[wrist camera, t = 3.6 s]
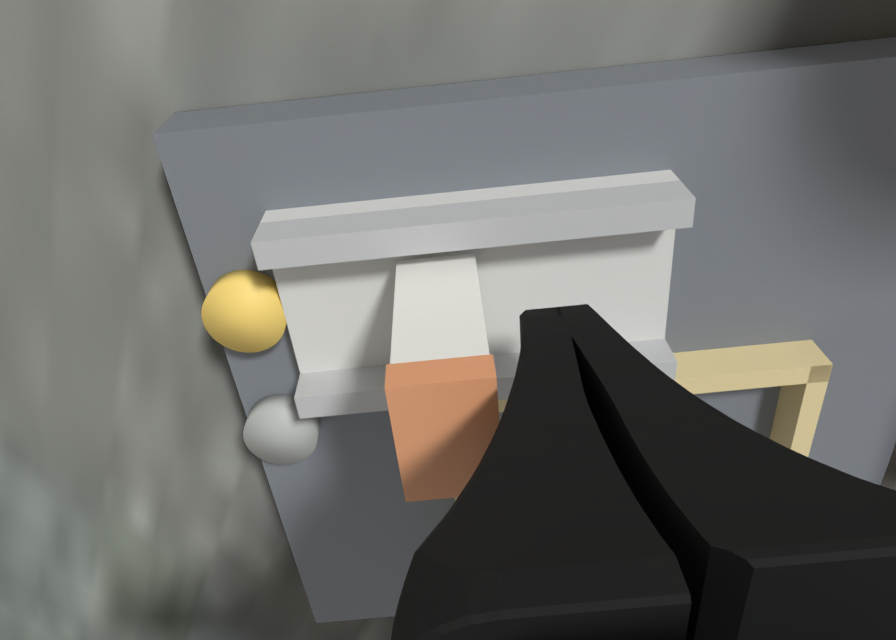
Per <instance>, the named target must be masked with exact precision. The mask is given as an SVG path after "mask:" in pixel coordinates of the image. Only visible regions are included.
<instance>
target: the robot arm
mask: <svg viewBox="0 0 896 640" xmlns="http://www.w3.org/2000/svg"><path fill="white" fill-rule="evenodd" d="M519 320H520V344H521V348H520V355H519V359H518V364H517V369H516V374H515V378H514V381H513V384H512V387H511V391H510V394H509V397H508V400H507V403H506V406H505V409H504V412H503V414H502V417H501V419H500V422H499V424H498V426H497V429H496V431H495V433H494V435H493V438H492V440H491V442H490V444H489V446H488V448H487V450H486V451H485V453H484V455H483V457H482V459H481V461H480V463H479V465H478V467H477V468H476V470H475V472H474V473H473V475H472V477H471V478H470V480H469V481H468V483H467V484H466V486H465V487H464V489H463V490H462V492H461V493H460V495H459V496H458V498H457V499H456V501H455V502H454V504H453V505H452V507H451V508H450V510H449V511H448V512H447V514H446V515H445V516H444V517H443V519H442V520H441V521H440V522H439V524H438V525H437V526H436V527H435V528H434V530H433V531H432V532H431V533H430V534H429V535H428V537H427V538H426V539H425V540H424V541H423V543H422V544H421V545H420V546H419V547H418V549H417V550H416V551H415V553H414V555H413V558H412V561H411V564H410V567H409V570H408V573H407V575H406V578H405V581H404V585H403V588H402V591H401V595H400V598H399V602H398V606H397V610H396V614H395V619H394V624H393V630H392V636H391V640H896V491H895V490H892V489H889V488H886V487H883V486H881V485H878V484H875V483H872V482H869V481H866V480H863V479H860V478H857V477H855V476H852V475H850V474H847V473H845V472H842V471H840V470H837V469H835V468H833V467H830V466H828V465H825V464H823V463H820V462H818V461H816V460H813V459H811V458H809V457H807V456H804V455H802V454H800V453H798V452H796V451H793V450H791V449H789V448H787V447H785V446H783V445H781V444H779V443H777V442H775V441H773V440H771V439H769V438H767V437H765V436H763V435H761V434H759V433H757V432H755V431H753V430H751V429H750V428H748V427H746V426H744V425H742V424H741V423H739V422H737V421H735V420H733V419H732V418H730V417H728V416H727V415H725V414H724V413H722V412H720V411H719V410H717V409H716V408H714V407H712V406H711V405H709V404H707V403H706V402H704V401H703V400H701V399H700V398H698V397H697V396H695V395H694V394H692V393H691V392H689V391H688V390H687V389H685V388H684V387H682V386H681V385H680V384H678V383H677V382H676V381H674V380H673V379H672V378H670V377H669V376H668V375H666V374H665V373H664V372H662V371H661V370H660V369H659V368H657V367H656V366H655V365H654V364H653V363H652V362H650V361H649V360H648V359H647V358H646V357H645V356H643V355H642V354H641V353H640V352H639V351H637V350H636V349H635V348H634V347H633V346H632V345H631V344H630V343H629V342H627V341H626V340H625V339H624V338H623V337H622V336H621V335H620V334H619V333H618V332H617V331H616V330H615V329H614V328H612V327H611V326H610V325H609V324H608V323H607V322H606V321H605V320H604V319H603V318H602V317H601V316H600V315H599V314H598V313H597V312H596V311H595V310H594V309H593V308H591V307H590V306H589V305H588V304H582V305H572V306H562V307H551V308H541V309H531V310H525V311H524V312H523V313H522V314H521V315H520V316H519Z"/></svg>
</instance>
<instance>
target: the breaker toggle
mask: <svg viewBox="0 0 896 640" xmlns="http://www.w3.org/2000/svg"><path fill="white" fill-rule="evenodd" d="M385 394H386V399H387V404H388V410H389V415H390V421H391V426H392V432H393V437H394V442H395V448H396V453H397V459H398V464H399V469H400V475H401V480H402V486H403V491H404V497H405V502H413V501H424V500H434V499H445V498H456V497H458V496H459V495H460V493H461V492H462V490H463V489H464V487H465V486H466V484H467V483H468V481H469V480H470V478H471V477H472V475H473V473H474V472H475V470H476V468H477V467H478V465H479V463H480V461H481V459H482V457H483V455H484V453H485V451H486V450H487V448H488V446H489V444H490V442H491V440H492V438H493V435H494V433H495V431H496V429H497V426H498V424H499V422H500V420H499V406H498V391H497V377H496V370H495V364H494V358H493V354H489V347H488V340H487V333H486V326H485V320H484V313H483V306H482V299H481V293H480V286H479V279H478V272H477V265H476V259H475V253H471V254H461V255H451V256H441V257H431V258H421V259H411V260H401V261H396V277H395V292H394V308H393V324H392V339H391V355H390V364H386V374H385Z"/></svg>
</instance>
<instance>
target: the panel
mask: <svg viewBox="0 0 896 640" xmlns="http://www.w3.org/2000/svg"><path fill="white" fill-rule="evenodd" d="M152 136H153V139H154V142H155V145H156V148H157V151H158V154H159V157H160V160H161V163H162V166H163V169H164V172H165V175H166V178H167V181H168V184H169V187H170V190H171V193H172V196H173V199H174V202H175V205H176V208H177V211H178V214H179V217H180V220H181V223H182V226H183V229H184V232H185V235H186V238H187V241H188V244H189V247H190V250H191V253H192V256H193V259H194V262H195V264H196V267H197V270H198V273H199V276H200V279H201V282H202V285H203V288H204V291H205V294H206V299H205V300H204V303H203V306H202V312H201V315H202V321H203V324H204V326H205V328H206V330H207V332H208V333H209V334H210V335H211V337H212V338H213V339H214V340H216V341H217V342H218V343H220V344H221V345H223V348H224V351H225V354H226V357H227V360H228V363H229V366H230V369H231V372H232V375H233V378H234V381H235V384H236V387H237V390H238V393H239V396H240V399H241V402H242V405H243V407H244V410H245V413H246V416H247V421H246V424H245V427H244V430H243V439H244V442H245V444H246V446H247V448H248V449H249V450H250V451H251V452H252V453H253V454H254V455H255V456H257V457H258V458H260V459H261V461H262V464H263V467H264V470H265V473H266V476H267V479H268V482H269V485H270V488H271V491H272V494H273V497H274V500H275V503H276V506H277V509H278V512H279V515H280V518H281V521H282V524H283V527H284V530H285V533H286V536H287V539H288V542H289V545H290V548H291V550H292V553H293V556H294V559H295V562H296V565H297V568H298V571H299V574H300V577H301V580H302V583H303V586H304V589H305V592H306V595H307V598H308V601H309V604H310V607H311V610H312V613H313V616H314V619H315V622H316V623H325V622H337V621H348V620H359V619H371V618H382V617H393V616H395V614H396V610H397V606H398V602H399V598H400V595H401V591H402V588H403V585H404V581H405V578H406V575H407V573H408V570H409V567H410V564H411V561H412V558H413V555H414V553H415V551H416V550H417V549H418V547H419V546H420V545H421V544H422V543H423V541H424V540H425V539H426V538H427V537H428V535H429V534H430V533H431V532H432V531H433V530H434V528H435V527H436V526H437V525H438V524H439V522H440V521H441V520H442V519H443V517H444V516H445V515H446V514H447V512H448V511H449V510H450V508H451V507H452V505H453V504H454V502H455V501H456V499H457V498H458V497H456V498H445V499H434V500H424V501H413V502H405V497H404V491H403V486H402V480H401V475H400V469H399V464H398V459H397V453H396V448H395V442H394V437H393V432H392V426H391V421H390V415H389V410H388V404H387V399H386V394H385V374H386V364H390V355H391V339H392V324H393V308H394V292H395V277H396V261H401V260H411V259H421V258H431V257H441V256H451V255H461V254H471V253H475V259H476V265H477V272H478V279H479V286H480V293H481V299H482V306H483V313H484V320H485V326H486V333H487V340H488V347H489V354H493V358H494V364H495V370H496V377H497V391H498V406H499V420H500V419H501V417H502V414H503V412H504V409H505V406H506V403H507V400H508V397H509V394H510V391H511V387H512V384H513V381H514V378H515V374H516V369H517V364H518V359H519V355H520V348H521V344H520V320H519V316H520V315H521V314H522V313H523V312H524V311H525V310H531V309H541V308H551V307H562V306H572V305H582V304H588V305H589V306H590V307H591V308H593V309H594V310H595V311H596V312H597V313H598V314H599V315H600V316H601V317H602V318H603V319H604V320H605V321H606V322H607V323H608V324H609V325H610V326H611V327H612V328H614V329H615V330H616V331H617V332H618V333H619V334H620V335H621V336H622V337H623V338H624V339H625V340H626V341H627V342H629V343H630V344H631V345H632V346H633V347H634V348H635V349H636V350H637V351H639V352H640V353H641V354H642V355H643V356H645V357H646V358H647V359H648V360H649V361H650V362H652V363H653V364H654V365H655V366H656V367H657V368H659V369H660V370H661V371H662V372H664V373H665V374H666V375H668V376H669V377H670V378H672V379H673V380H674V381H676V382H677V383H678V384H680V385H681V386H682V387H684V388H685V389H687V390H688V391H689V392H691V393H692V394H694V395H695V396H697V397H698V398H700V399H701V400H703V401H704V402H706V403H707V404H709V405H711V406H712V407H714V408H716V409H717V410H719V411H720V412H722V413H724V414H725V415H727V416H728V417H730V418H732V419H733V420H735V421H737V422H739V423H741V424H742V425H744V426H746V427H748V428H750V429H751V430H753V431H755V432H757V433H759V434H761V435H763V436H765V437H767V438H769V439H771V440H773V441H775V442H777V443H779V444H781V445H783V446H785V447H787V448H789V449H791V450H793V451H796V452H798V453H800V454H802V455H804V456H807V457H809V458H811V459H813V460H816V461H818V462H820V463H823V464H825V465H828V466H830V467H833V468H835V469H837V470H840V471H842V472H845V473H847V474H850V475H852V476H855V477H857V478H860V479H863V480H866V481H869V482H872V483H875V484H878V485H881V483H882V480H883V477H884V475H885V472H886V469H887V466H888V463H889V461H890V458H891V455H892V452H893V450H894V447H895V444H896V37H890V38H881V39H871V40H862V41H852V42H842V43H833V44H823V45H814V46H804V47H795V48H785V49H776V50H766V51H757V52H747V53H738V54H728V55H719V56H709V57H700V58H690V59H681V60H671V61H662V62H652V63H643V64H633V65H624V66H614V67H605V68H595V69H586V70H576V71H566V72H557V73H547V74H538V75H528V76H519V77H509V78H500V79H490V80H481V81H471V82H462V83H452V84H443V85H433V86H424V87H414V88H405V89H395V90H386V91H376V92H367V93H357V94H348V95H338V96H329V97H319V98H309V99H300V100H290V101H281V102H271V103H262V104H252V105H243V106H233V107H224V108H214V109H205V110H195V111H186V112H176V113H174V114H173V115H172V116H171V117H170V118H169V119H168V120H167V121H166V122H165V123H164V124H163V125H161V126H160V127H159V128H158V129H157V130H156V131H155V132H154V133H153V134H152Z"/></svg>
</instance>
